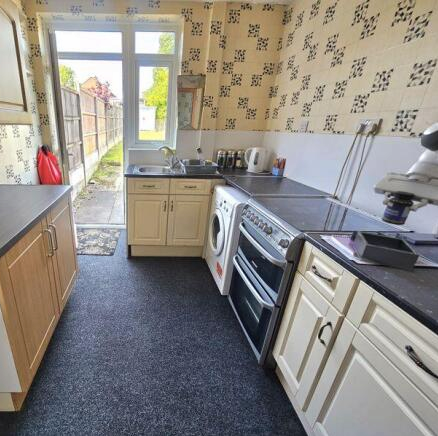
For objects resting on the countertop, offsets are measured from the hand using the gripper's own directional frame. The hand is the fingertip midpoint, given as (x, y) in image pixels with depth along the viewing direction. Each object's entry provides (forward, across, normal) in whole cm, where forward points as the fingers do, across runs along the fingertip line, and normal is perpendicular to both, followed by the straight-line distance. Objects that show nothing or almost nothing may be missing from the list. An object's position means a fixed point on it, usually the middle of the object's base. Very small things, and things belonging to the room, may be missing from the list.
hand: (398, 206), depth 86 cm
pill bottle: (+4, 0, +5) cm, 6 cm away
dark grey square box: (+16, +2, +11) cm, 20 cm away
